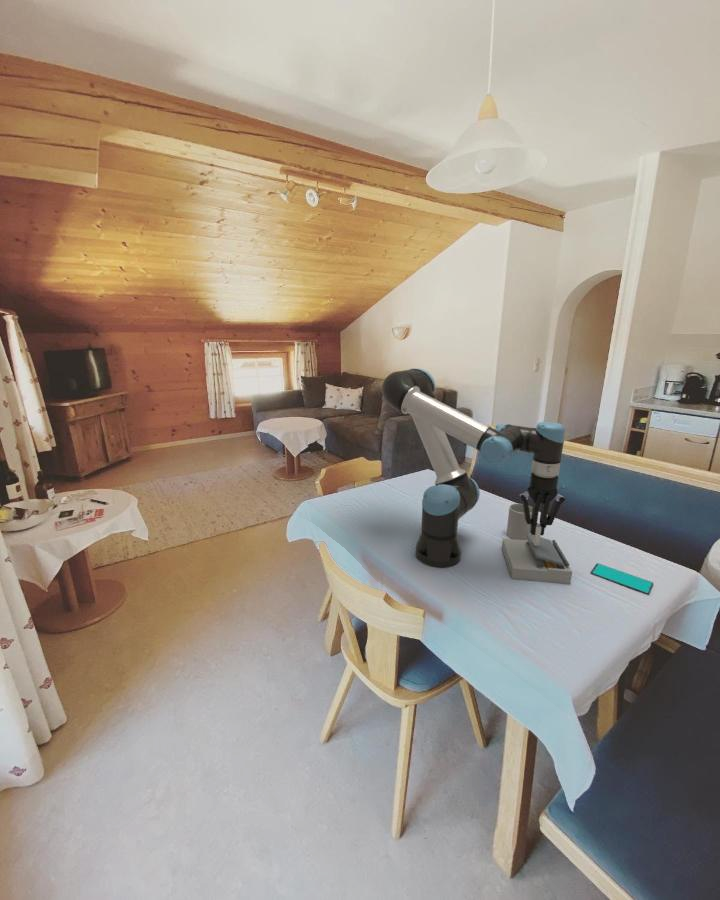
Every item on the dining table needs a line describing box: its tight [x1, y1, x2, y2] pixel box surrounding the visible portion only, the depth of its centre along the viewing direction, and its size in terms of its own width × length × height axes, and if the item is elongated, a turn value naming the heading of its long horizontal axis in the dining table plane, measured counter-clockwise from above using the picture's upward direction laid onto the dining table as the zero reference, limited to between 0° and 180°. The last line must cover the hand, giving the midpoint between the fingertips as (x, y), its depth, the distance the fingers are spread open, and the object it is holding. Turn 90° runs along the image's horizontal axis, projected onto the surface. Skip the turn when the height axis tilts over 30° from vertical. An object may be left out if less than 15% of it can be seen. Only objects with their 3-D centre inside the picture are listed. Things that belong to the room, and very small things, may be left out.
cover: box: [526, 533, 570, 567], centre depth 124 cm, size 10×14×1 cm
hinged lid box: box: [501, 538, 573, 585], centre depth 126 cm, size 17×18×4 cm
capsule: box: [543, 560, 556, 568], centre depth 125 cm, size 3×12×3 cm
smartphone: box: [590, 563, 654, 596], centre depth 119 cm, size 7×1×15 cm
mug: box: [506, 503, 533, 540], centre depth 144 cm, size 12×8×11 cm
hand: (535, 543), depth 124 cm, fingers closed
